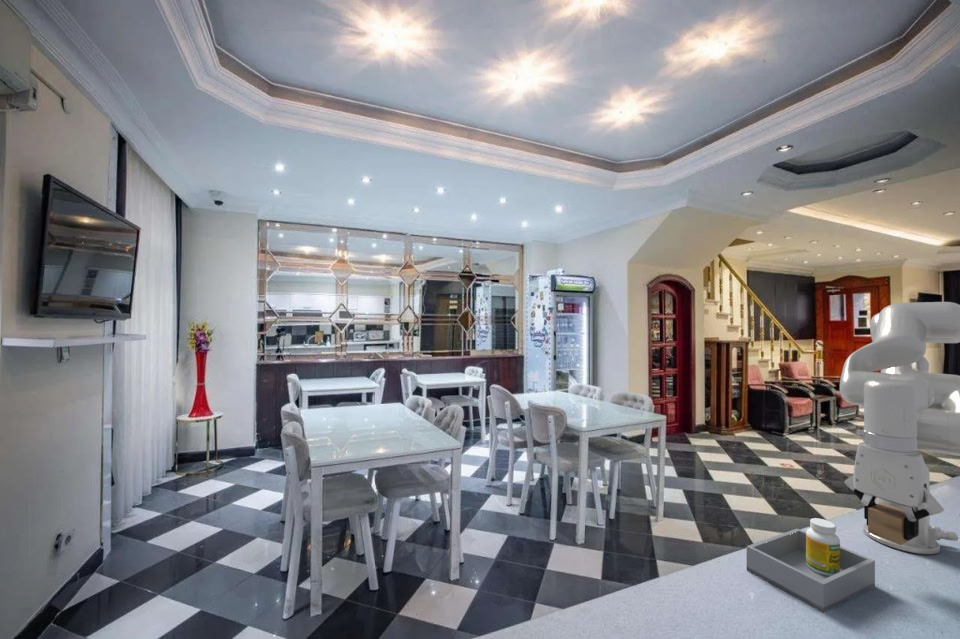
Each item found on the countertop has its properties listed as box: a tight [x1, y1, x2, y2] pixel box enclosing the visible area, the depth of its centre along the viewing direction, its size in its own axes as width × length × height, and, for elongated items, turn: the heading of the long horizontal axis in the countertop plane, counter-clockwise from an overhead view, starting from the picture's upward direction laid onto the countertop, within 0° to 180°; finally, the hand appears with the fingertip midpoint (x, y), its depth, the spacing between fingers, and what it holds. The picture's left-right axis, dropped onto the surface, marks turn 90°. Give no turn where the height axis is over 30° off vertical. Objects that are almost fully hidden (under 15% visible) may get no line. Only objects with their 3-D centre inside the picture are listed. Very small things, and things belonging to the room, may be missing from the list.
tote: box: [746, 528, 876, 614], centre depth 83 cm, size 18×14×5 cm
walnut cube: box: [868, 503, 908, 545], centre depth 83 cm, size 5×5×5 cm
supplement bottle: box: [805, 517, 841, 576], centre depth 84 cm, size 5×5×10 cm
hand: (890, 530), depth 83 cm, fingers closed on walnut cube, 5 cm apart
